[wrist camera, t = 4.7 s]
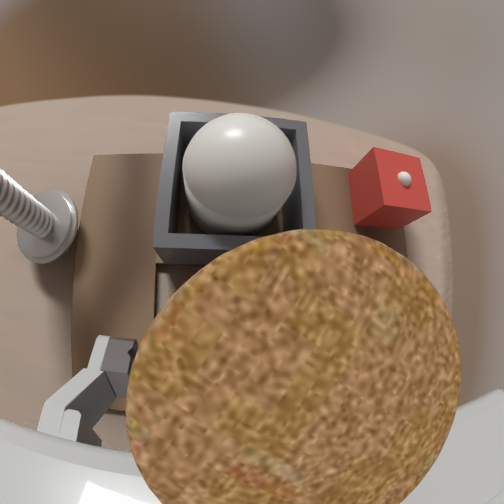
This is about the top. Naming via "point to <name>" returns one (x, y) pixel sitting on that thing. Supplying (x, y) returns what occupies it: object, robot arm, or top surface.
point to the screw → (39, 220)
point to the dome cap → (238, 174)
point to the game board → (143, 254)
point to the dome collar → (166, 219)
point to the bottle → (295, 377)
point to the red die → (388, 190)
